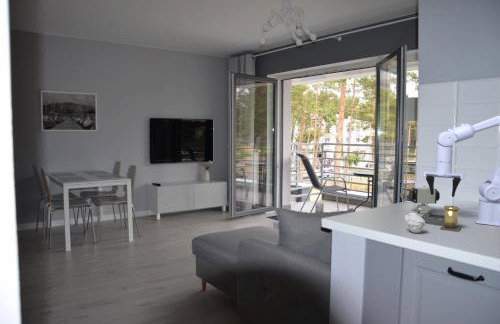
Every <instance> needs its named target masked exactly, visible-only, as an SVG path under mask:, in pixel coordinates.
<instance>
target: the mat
mask: <svg viewBox="0 0 500 324" xmlns="http://www.w3.org/2000/svg"><path fill="white" fill-rule="evenodd" d="M439 229H440V230H442V231H450V232H457V233H459V232H460V231H461V230H462V227H461V226H459V227H458V226H457V229H448V228H445V227H444V225H443V226H440V228H439Z"/></svg>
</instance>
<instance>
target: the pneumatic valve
mask: <svg viewBox="0 0 500 324" xmlns="http://www.w3.org/2000/svg"><path fill="white" fill-rule="evenodd" d="M440 197H441V194H440V192H439V190H438V188H434V194H433V195H431V192H430V188H429V187H426V185H423V187H412V188H411V190H409V191H408V199H409V200H410V201H411V202H412V203H414V204H418V205H417V206H416V213H419V214H421V215H424V214H425V213H426V212H431V207H430V205H429V204H433V205H434V204H437V201H439V200H440Z"/></svg>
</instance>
